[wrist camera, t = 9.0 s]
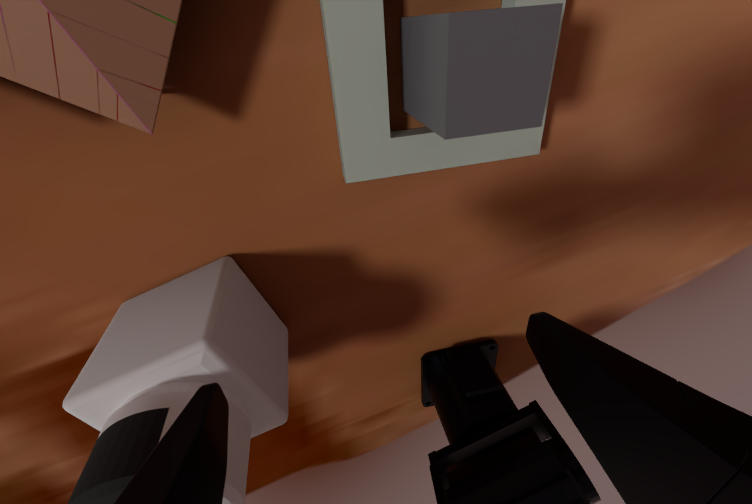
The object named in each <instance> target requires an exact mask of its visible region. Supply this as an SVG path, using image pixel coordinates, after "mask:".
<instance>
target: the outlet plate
mask: <svg viewBox="0 0 752 504" xmlns="http://www.w3.org/2000/svg"><path fill="white" fill-rule="evenodd" d="M556 3H563V7H562V12H561V18H560V24H559V30H558V35H557V41H556V47H555V53H554V58H553V64H552V70H551V75H550V81H549V87H548V93H547V98H546V104H545V110H544V116H543V121H542V127H535V128H528V129H520V130H513V131H506V132H498V133H491V134H484V135H476V136H469V137H462V138H454V139H447V140H445V139H443V138H442V137H440V136H439V135H437V134H436V133H435V132H433V131H432V130H430V129H429V128H428V127H422V128H415V129H408V130H400V131H393V132H390V121H389V102H388V84H387V66H386V48H385V29H384V11H383V0H320V6H321V14H322V21H323V28H324V36H325V43H326V51H327V58H328V66H329V73H330V81H331V88H332V96H333V103H334V110H335V118H336V125H337V133H338V140H339V148H340V155H341V163H342V170H343V176H344V179H345V182H346V183H352V182H359V181H365V180H372V179H378V178H385V177H391V176H398V175H405V174H411V173H418V172H424V171H431V170H437V169H444V168H451V167H457V166H464V165H470V164H477V163H484V162H490V161H497V160H503V159H510V158H516V157H523V156H530V155H536V154H539V152H540V146H541V141H542V135H543V129H544V124H545V118H546V112H547V106H548V101H549V95H550V89H551V84H552V78H553V72H554V66H555V61H556V55H557V49H558V44H559V38H560V32H561V26H562V21H563V15H564V9H565V4H566V0H502V8H510V7H522V6H533V5H545V4H556Z"/></svg>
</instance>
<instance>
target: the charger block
mask: <svg viewBox="0 0 752 504" xmlns="http://www.w3.org/2000/svg"><path fill="white" fill-rule="evenodd" d="M562 7H563V3H556V4H545V5H533V6H522V7H510V8H499V9H487V10H476V11H464V12H453V13H442V14H432V15H422V16H412V17H402V18H400V33H401V66H402V99H403V110H404V111H405V112H406V113H408V114H409V115H411V116H412V117H414V118H415V119H416V120H418V121H419V122H421V123H422V124H423V125H425V126H426V127H428V128H429V129H430V130H432V131H433V132H435V133H436V134H437V135H439V136H440V137H442V138H443V139H445V140H447V139H454V138H462V137H469V136H476V135H484V134H491V133H498V132H506V131H513V130H520V129H528V128H535V127H542V121H543V116H544V110H545V104H546V98H547V93H548V87H549V81H550V75H551V70H552V64H553V58H554V53H555V47H556V41H557V35H558V30H559V24H560V18H561V12H562Z"/></svg>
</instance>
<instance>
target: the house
mask: <svg viewBox="0 0 752 504" xmlns="http://www.w3.org/2000/svg"><path fill="white" fill-rule="evenodd" d="M181 5H182V0H0V76H1V77H3V78H6V79H9V80H11V81H14V82H16V83H19V84H22V85H24V86H27V87H30V88H32V89H35V90H37V91H40V92H43V93H45V94H48V95H50V96H53V97H56V98H58V99H61V100H64V101H66V102H69V103H71V104H74V105H77V106H79V107H82V108H84V109H87V110H90V111H92V112H95V113H97V114H100V115H103V116H105V117H108V118H111V119H113V120H116V121H118V122H121V123H124V124H126V125H129V126H131V127H134V128H137V129H139V130H142V131H144V132H147V133H150V134H153V130H154V126H155V121H156V117H157V113H158V108H159V104H160V99H161V95H162V90H163V86H164V81H165V77H166V72H167V68H168V63H169V59H170V54H171V50H172V45H173V41H174V36H175V32H176V27H177V23H178V18H179V14H180V9H181Z"/></svg>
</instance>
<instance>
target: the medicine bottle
mask: <svg viewBox="0 0 752 504" xmlns="http://www.w3.org/2000/svg"><path fill="white" fill-rule="evenodd" d="M210 383H218V384H219V385H220V387H221V389H222V391H223V393H224V395H225V397H226V399H227V401H228V405H229V419H228V455H227V471H226V479H225V487H224V494H223V501H222V504H244V501H245V491H246V480H247V469H248V459H249V448H250V438H252V437H255V436H257V435H259V434H262V433H264V432H266V431H269V430H271V429H273V428H276V427H278V426H280V425H282V424H284V423H285V422H286V421H287V418H288V330H287V327H286V326H285V325H284V324H283V322H282V321H281V320H280V319H279V317H278V316H277V315H276V313H275V312H274V311H273V310H272V308H271V307H270V306H269V304H268V303H267V302H266V301H265V299H264V298H263V297H262V296H261V294H260V293H259V292H258V290H257V289H256V288H255V287H254V285H253V284H252V283H251V281H250V280H249V279H248V278H247V276H246V275H245V274H244V273H243V271H242V270H241V269H240V267H239V266H238V265H237V264H236V262H235V261H234V260H233V259H232V258H231V257H229V256H225V257H223V258H220V259H218V260H216V261H214V262H211V263H209V264H207V265H205V266H203V267H200V268H198V269H196V270H194V271H192V272H189V273H187V274H185V275H183V276H180V277H178V278H176V279H174V280H172V281H169V282H167V283H165V284H163V285H161V286H158V287H156V288H154V289H152V290H149V291H147V292H145V293H143V294H141V295H138V296H136V297H134V298H132V299H129V300H127V301H125V302H124V303H123V304H122V305H121V306H120V308H119V310H118V311H117V313H116V315H115V316H114V318H113V319H112V321H111V323H110V324H109V326H108V328H107V329H106V331H105V333H104V334H103V336H102V338H101V339H100V341H99V343H98V344H97V346H96V348H95V349H94V351H93V353H92V354H91V356H90V358H89V359H88V361H87V363H86V364H85V366H84V367H83V369H82V371H81V372H80V374H79V376H78V377H77V379H76V381H75V382H74V384H73V386H72V387H71V389H70V391H69V392H68V394H67V396H66V397H65V399H64V401H63V408H64V410H65V411H67V412H68V413H70V414H72V415H74V416H75V417H77V418H79V419H80V420H82V421H84V422H85V423H87V424H89V425H90V426H92V427H94V428H95V429H97V430H99V431H100V432H101V433H100V435H99V437H98V439H97V441H96V444H95V446H94V448H93V450H92V452H91V454H90V456H89V459H88V461H87V463H86V465H85V467H84V469H83V471H82V474H81V476H80V478H79V480H78V482H77V484H76V487H75V489H74V491H73V493H72V495H71V497H70V499H69V502H68V504H114V503H115V501H116V500H117V499H118V497H119V496H120V495H121V493H122V492H123V491H124V489H125V488H126V487H127V485H128V484H129V482H130V481H131V480H132V478H133V477H134V476H135V474H136V473H137V472H138V470H139V469H140V467H141V466H142V465H143V463H144V462H145V461H146V459H147V458H148V457H149V455H150V454H151V453H152V451H153V450H154V448H155V447H156V446H157V444H158V443H159V442H160V440H161V439H162V438H163V436H164V435H165V434H166V432H167V431H168V429H169V428H170V427H171V425H172V424H173V423H174V421H175V420H176V419H177V417H178V416H179V415H180V413H181V412H182V410H183V409H184V408H185V406H186V405H187V404H188V402H189V401H190V400H191V398H192V397H193V396H194V394H195V393H196V391H197V390H198V389H199V388H200V387H201V386H202V385H205V384H210Z"/></svg>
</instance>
